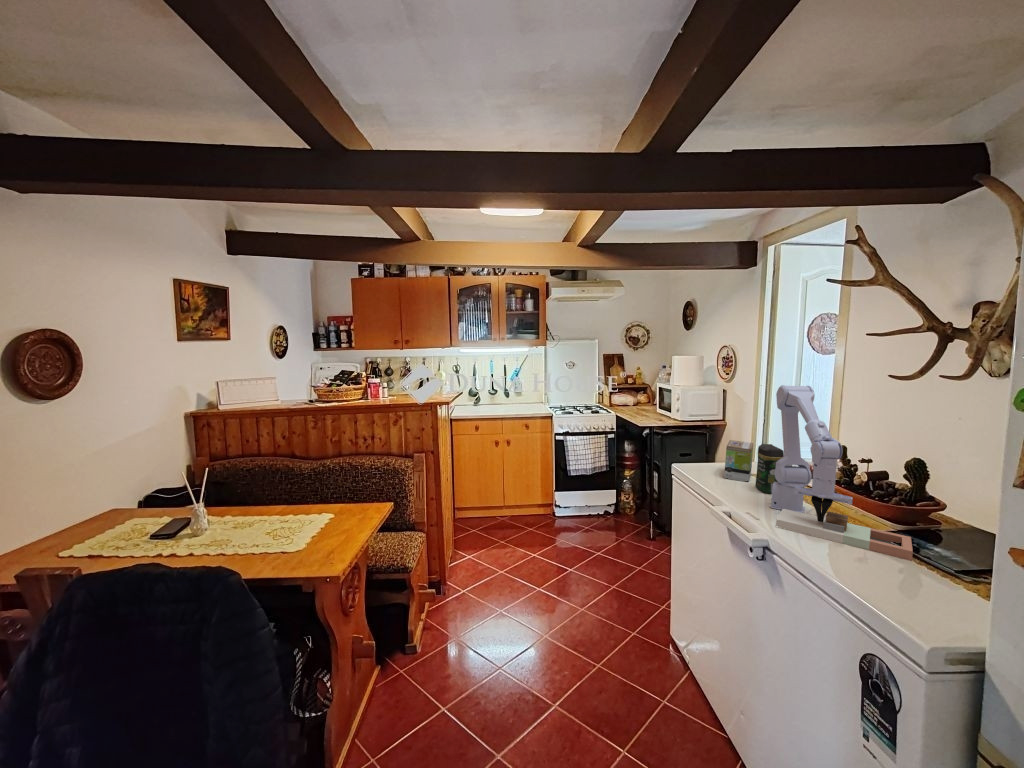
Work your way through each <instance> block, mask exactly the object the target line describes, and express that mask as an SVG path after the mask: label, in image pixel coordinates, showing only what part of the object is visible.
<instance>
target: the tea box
mask: <svg viewBox="0 0 1024 768" xmlns="http://www.w3.org/2000/svg"><path fill="white" fill-rule="evenodd" d="M753 453H754V442H748V441H742V440H740V441H739V440H733V439H730V440H729V441H728V443H727V444H726V450H725V462H724V463H725V464H724V473H723V477H724V478H723V479H727V478H728V479H727V480H732V479H734V481H739V480H741V481H740V482H745V481H748V482H749V481H750V479H751V476H752V475H751V474H752V468H753V465H752V463H753Z"/></svg>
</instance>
